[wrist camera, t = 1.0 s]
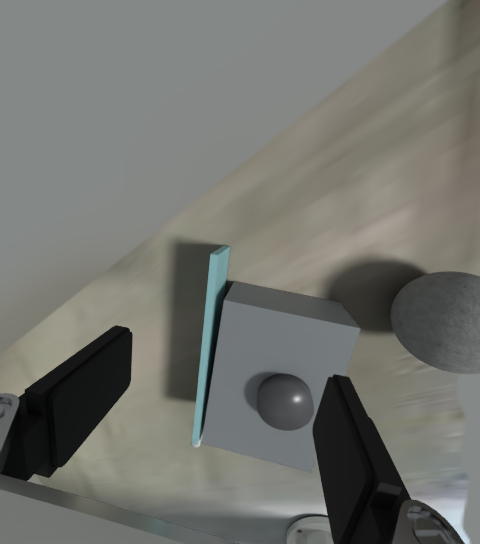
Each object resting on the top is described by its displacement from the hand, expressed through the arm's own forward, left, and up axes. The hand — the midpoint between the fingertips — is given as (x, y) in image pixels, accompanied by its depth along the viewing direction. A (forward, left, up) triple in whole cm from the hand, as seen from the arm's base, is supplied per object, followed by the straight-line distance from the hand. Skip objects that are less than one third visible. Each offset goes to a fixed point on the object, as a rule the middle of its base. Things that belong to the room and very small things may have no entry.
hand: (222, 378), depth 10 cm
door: (-10, +4, -20) cm, 23 cm away
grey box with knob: (-12, -5, -20) cm, 24 cm away
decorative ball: (0, -21, -21) cm, 29 cm away
